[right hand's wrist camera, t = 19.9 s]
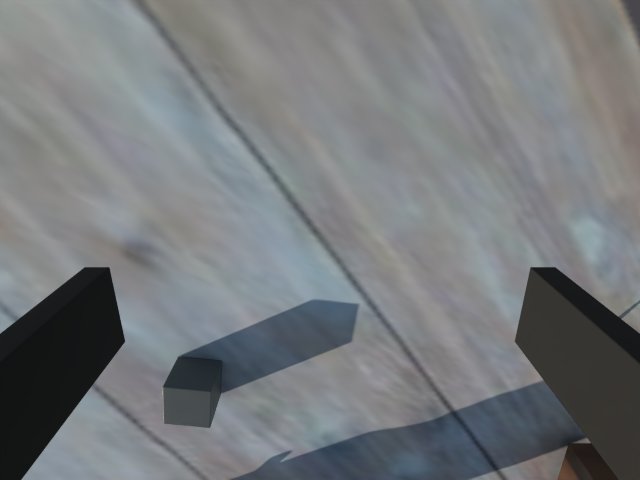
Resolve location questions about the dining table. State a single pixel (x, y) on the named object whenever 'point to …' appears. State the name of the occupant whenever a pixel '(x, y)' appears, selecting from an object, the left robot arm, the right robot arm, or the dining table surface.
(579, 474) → the plank
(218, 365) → the slate block
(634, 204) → the dining table surface
